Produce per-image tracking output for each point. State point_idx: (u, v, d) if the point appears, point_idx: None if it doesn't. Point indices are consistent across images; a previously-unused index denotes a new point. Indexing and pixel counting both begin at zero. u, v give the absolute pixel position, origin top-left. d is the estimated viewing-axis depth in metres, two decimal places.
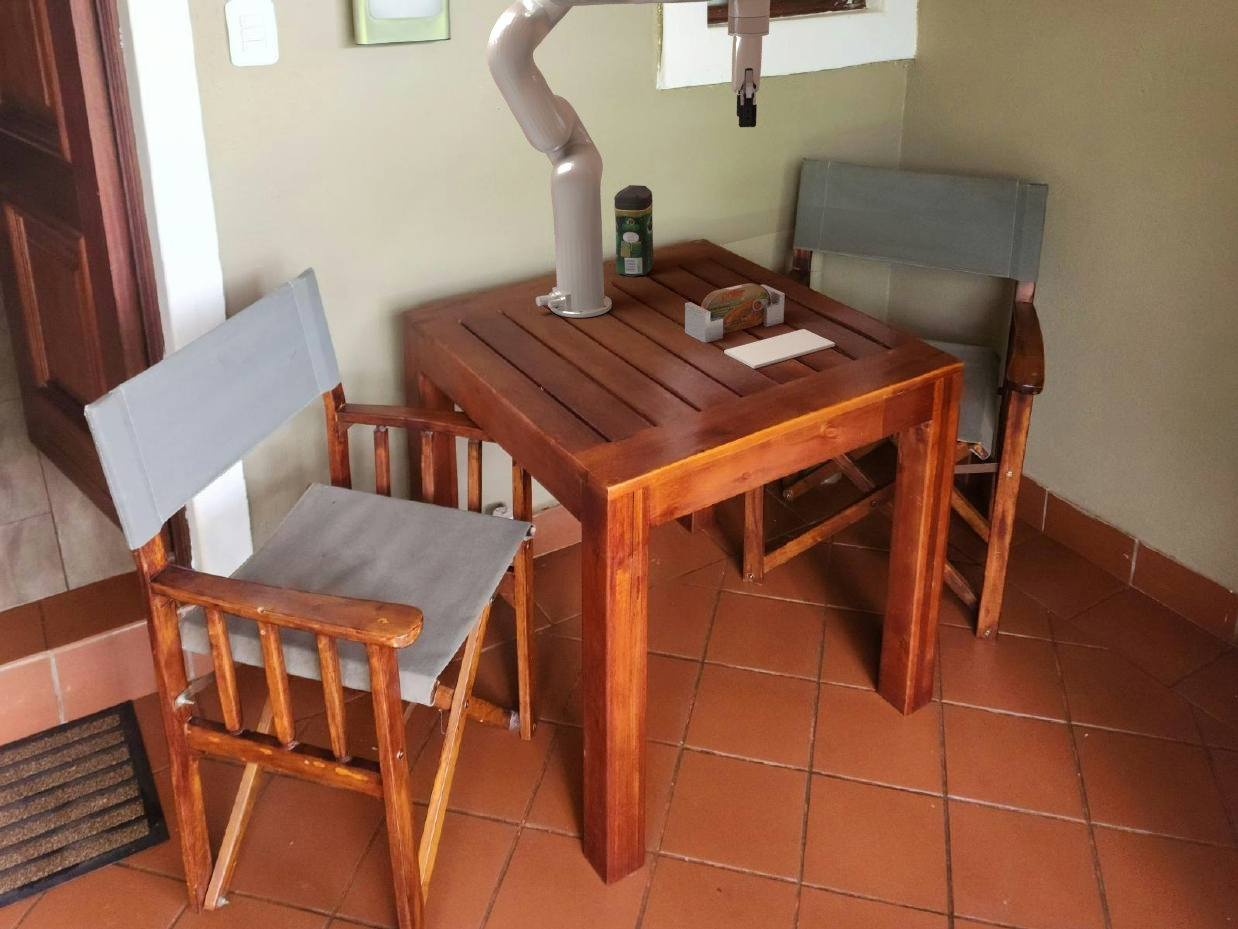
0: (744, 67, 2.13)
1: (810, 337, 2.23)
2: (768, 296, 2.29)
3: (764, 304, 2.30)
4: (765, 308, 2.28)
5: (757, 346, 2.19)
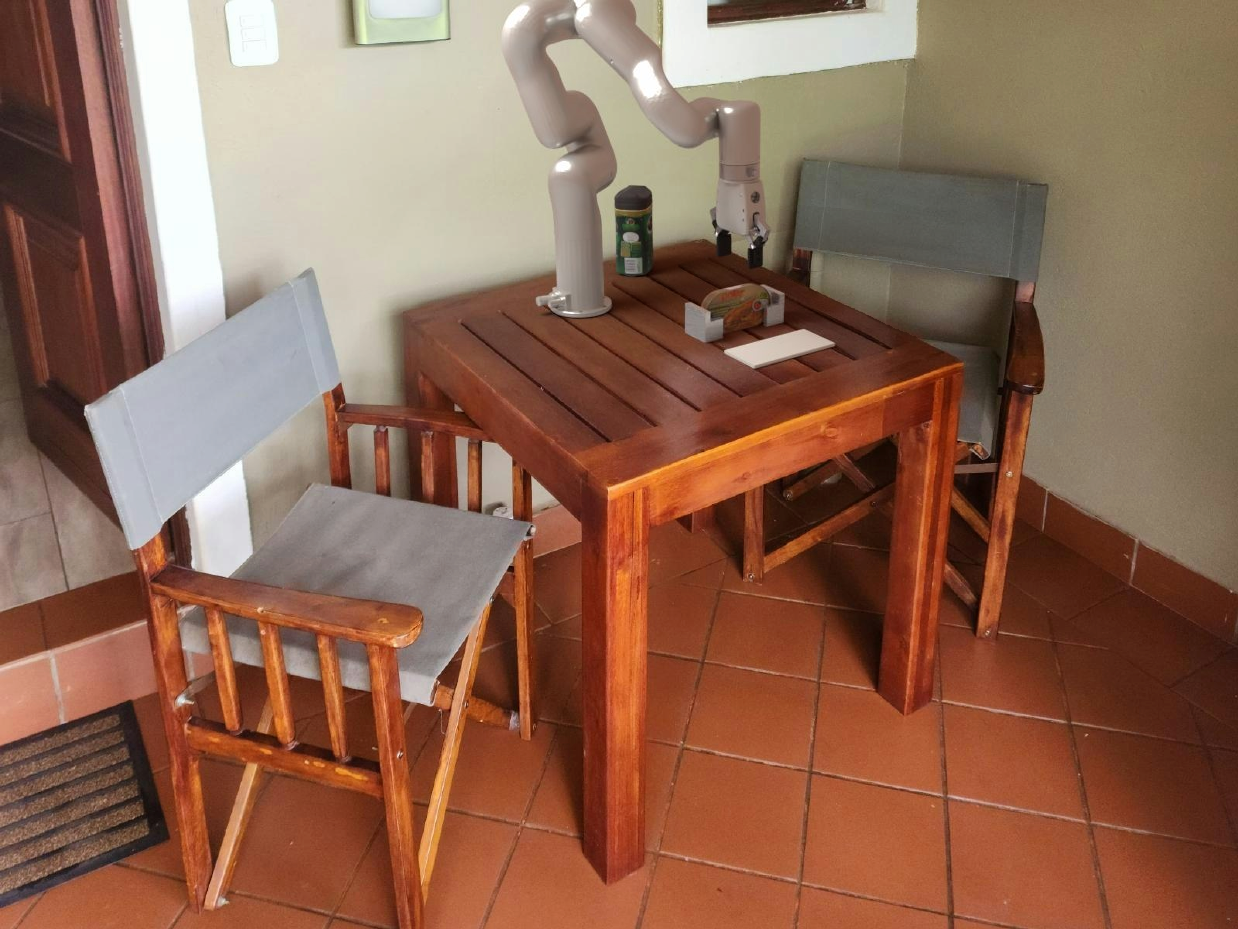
0: None
1: (810, 337, 2.23)
2: (768, 296, 2.29)
3: (764, 304, 2.30)
4: (765, 308, 2.28)
5: (757, 346, 2.19)
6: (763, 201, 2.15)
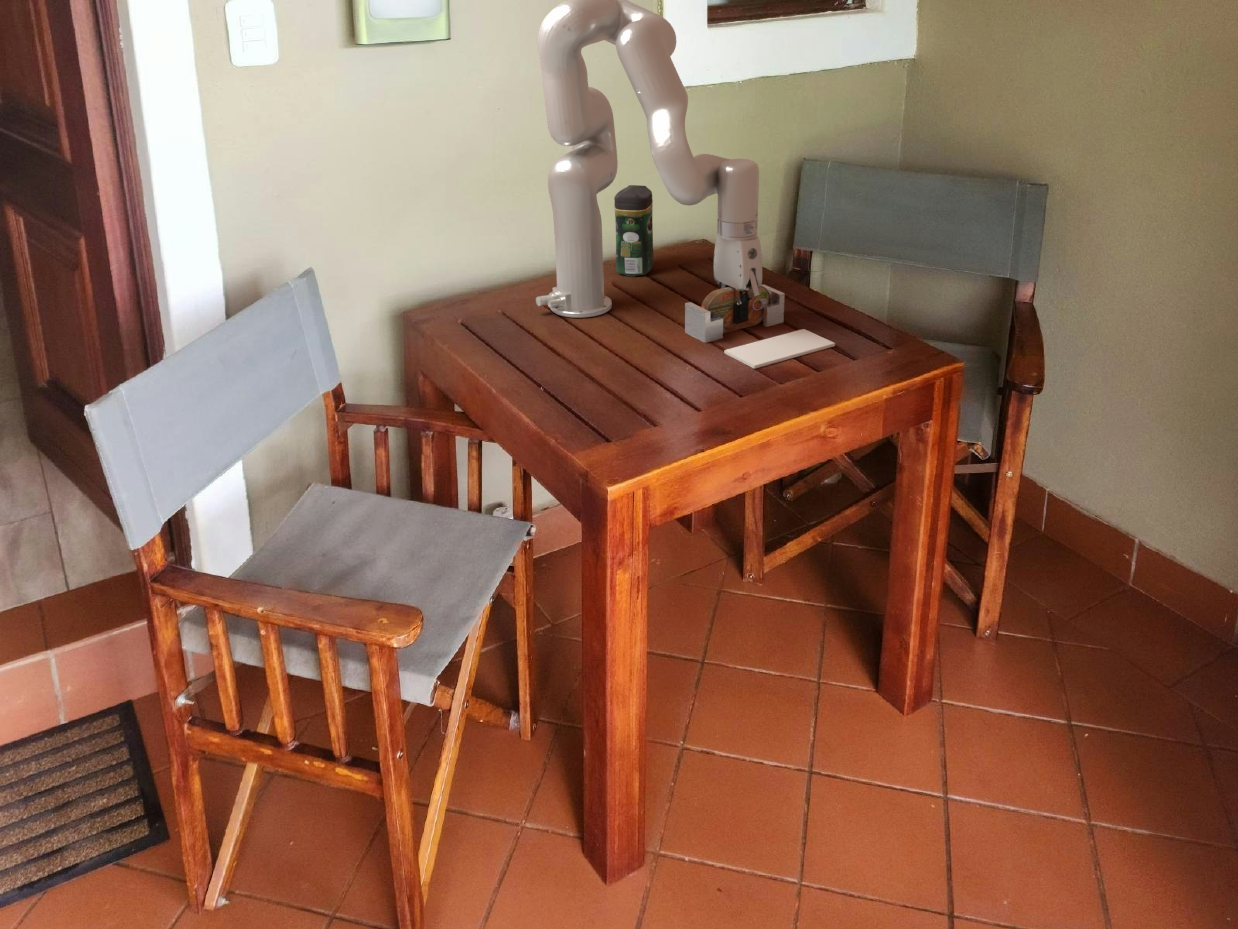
0: None
1: (810, 337, 2.23)
2: (768, 295, 2.29)
3: (764, 303, 2.30)
4: (765, 308, 2.28)
5: (757, 346, 2.19)
6: (760, 257, 2.20)
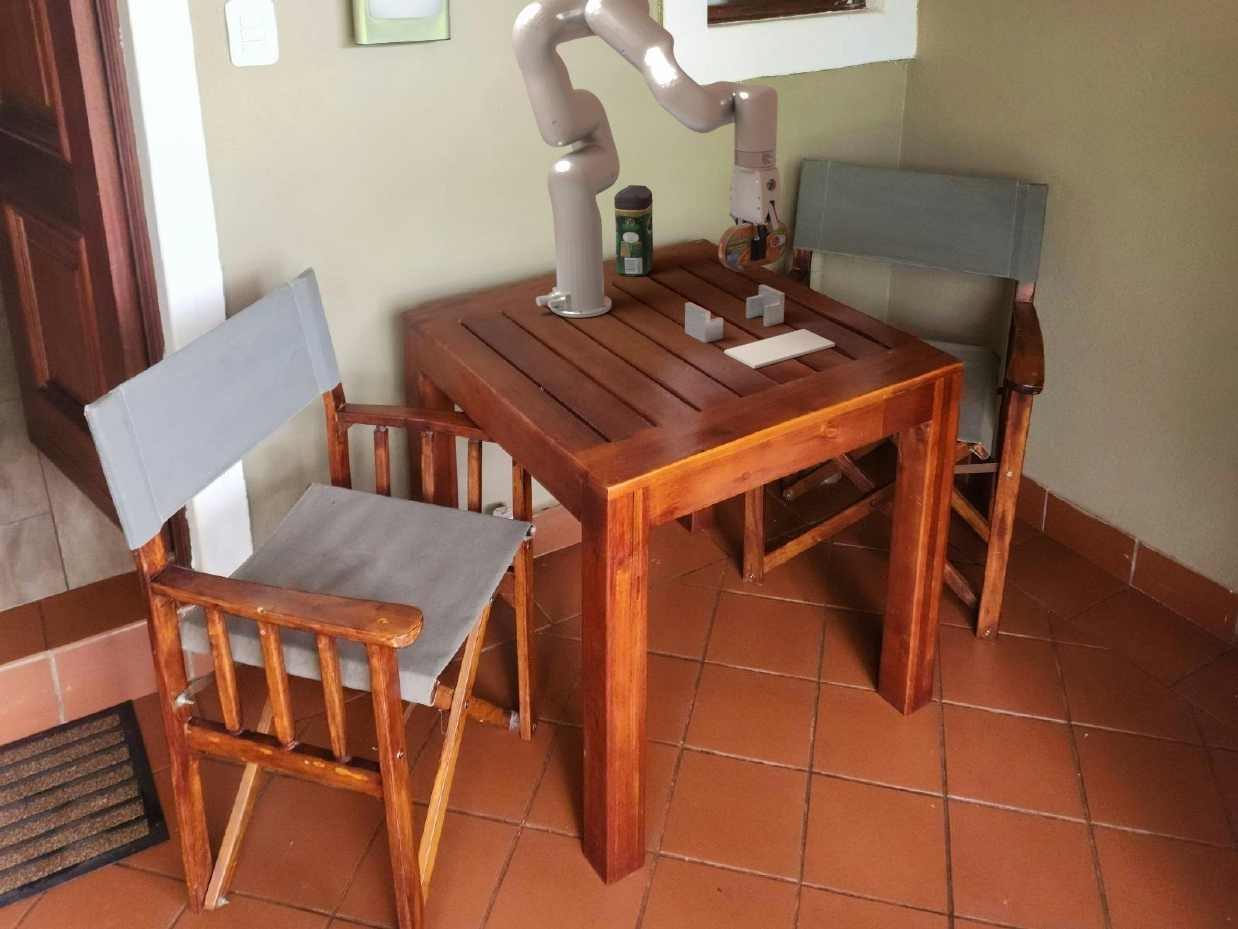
0: None
1: (810, 337, 2.23)
2: (786, 232, 2.20)
3: (781, 240, 2.20)
4: (765, 308, 2.28)
5: (757, 346, 2.19)
6: (779, 189, 2.10)
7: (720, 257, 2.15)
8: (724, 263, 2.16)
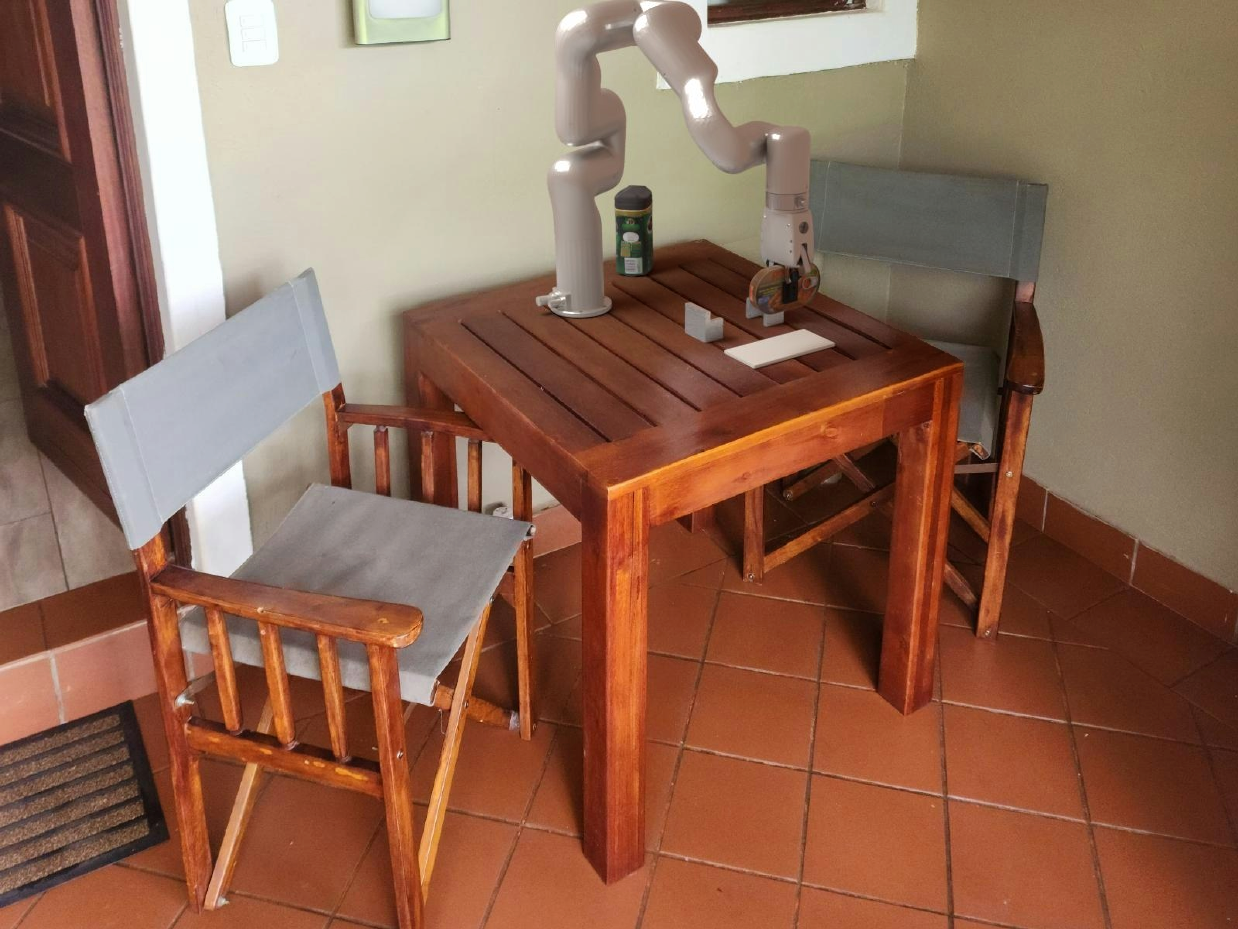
0: None
1: (810, 337, 2.23)
2: (818, 273, 2.15)
3: (814, 282, 2.15)
4: None
5: (757, 346, 2.19)
6: (811, 231, 2.06)
7: (751, 300, 2.11)
8: (755, 306, 2.11)
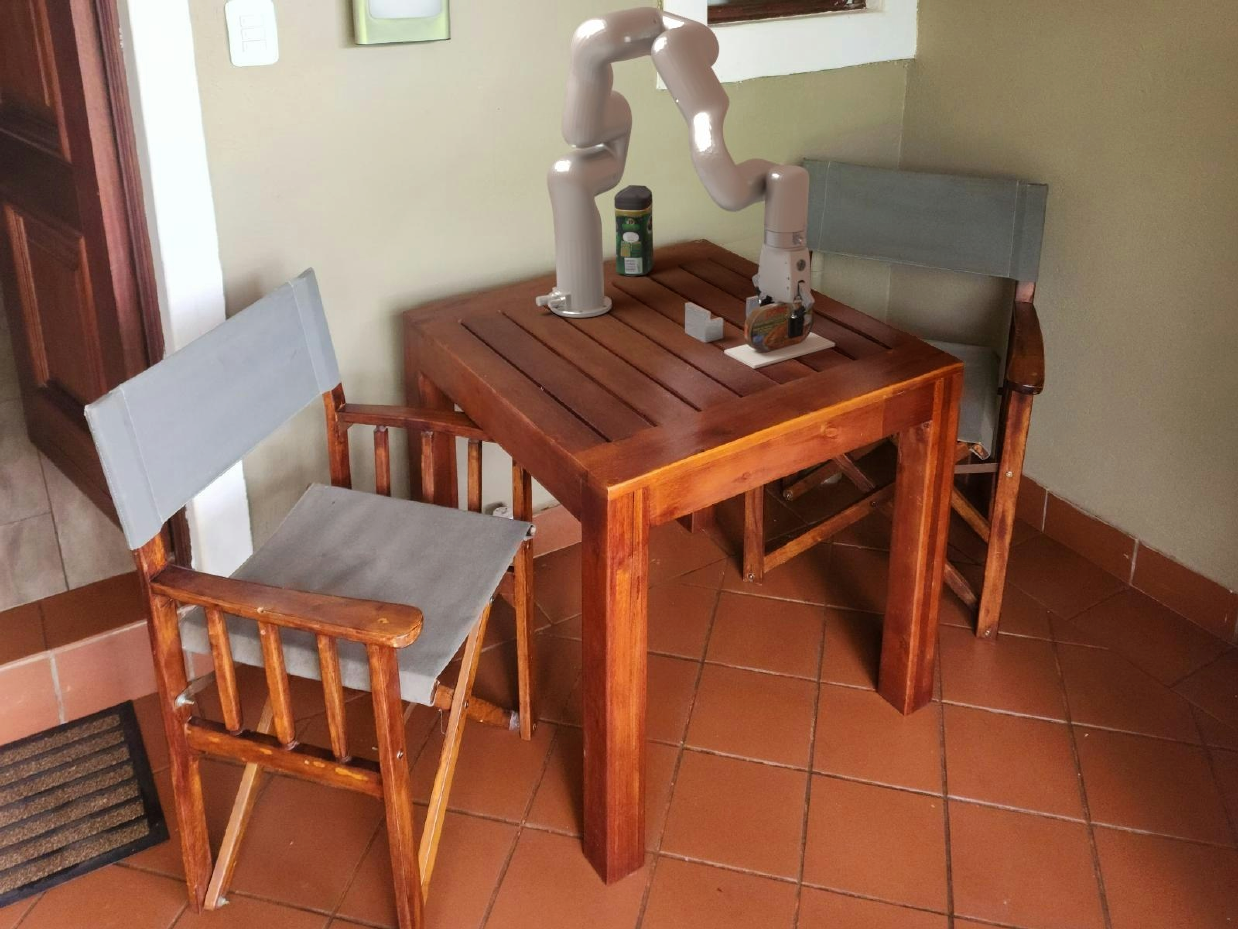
0: None
1: (810, 337, 2.23)
2: (811, 311, 2.19)
3: (807, 320, 2.20)
4: None
5: None
6: (809, 269, 2.09)
7: (746, 338, 2.15)
8: (750, 344, 2.15)
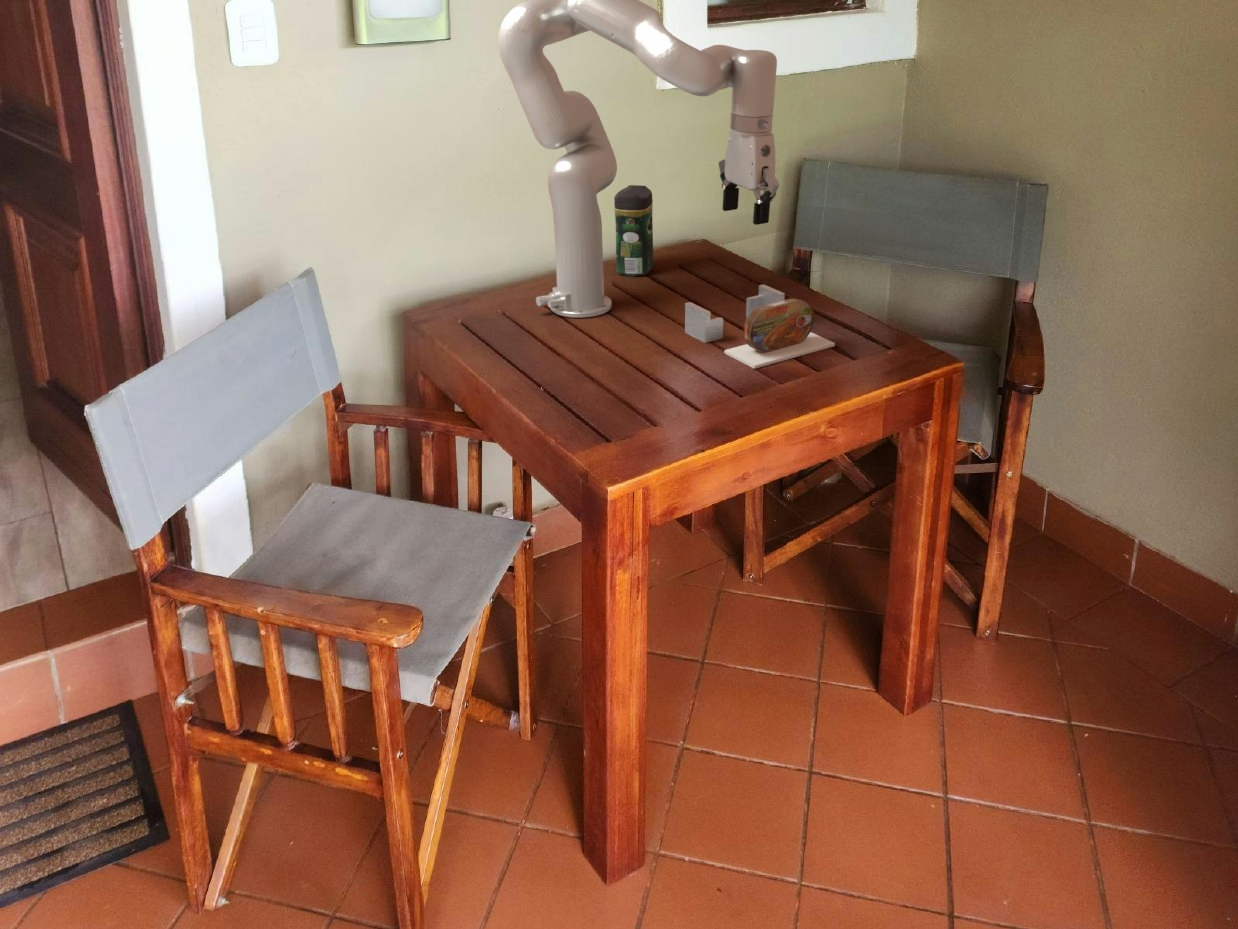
0: None
1: (810, 337, 2.23)
2: (811, 311, 2.19)
3: (807, 320, 2.20)
4: None
5: None
6: (773, 155, 2.11)
7: (746, 338, 2.15)
8: (750, 344, 2.15)
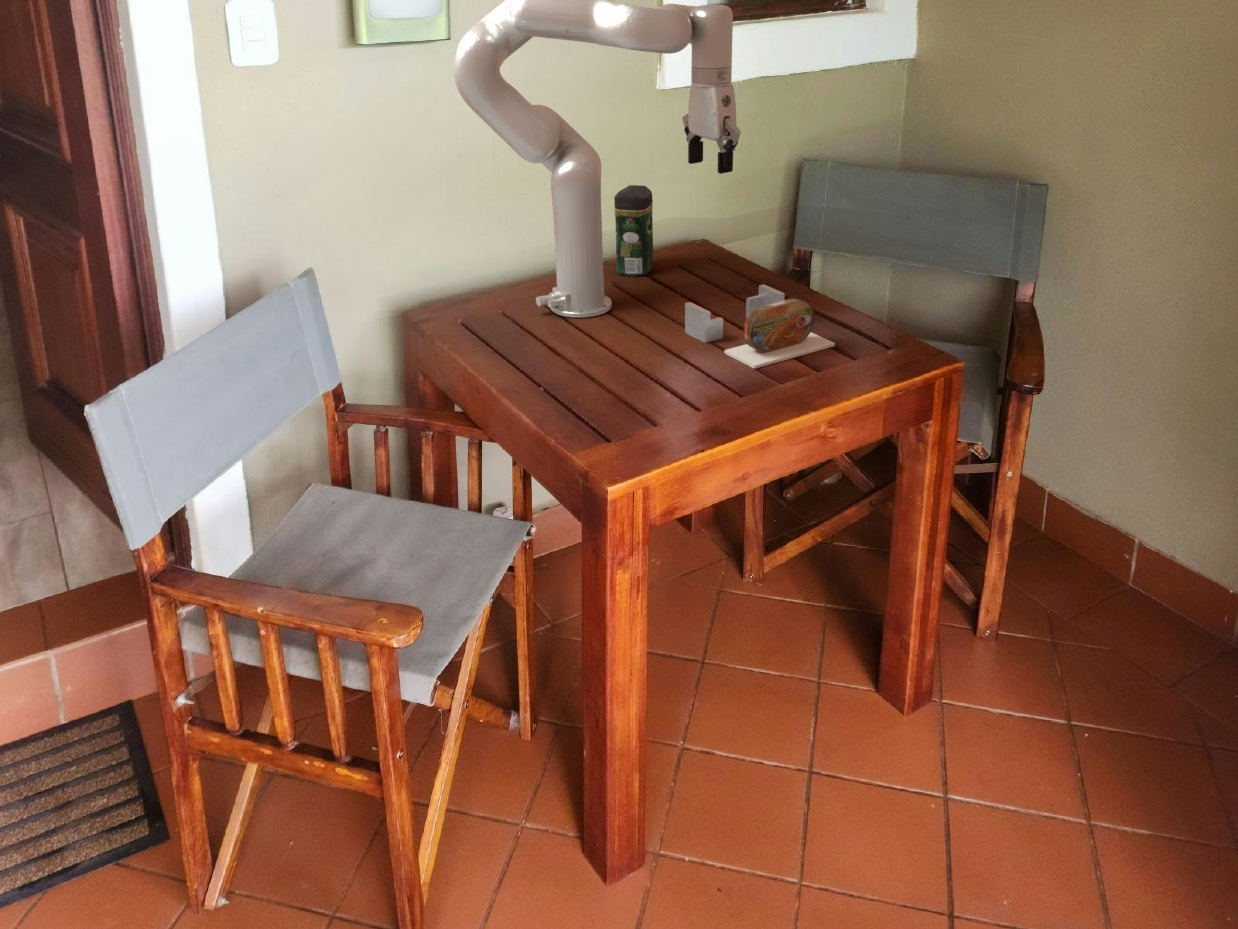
0: None
1: (810, 337, 2.23)
2: (811, 311, 2.19)
3: (807, 320, 2.20)
4: None
5: None
6: (734, 105, 2.19)
7: (746, 338, 2.15)
8: (750, 344, 2.15)
